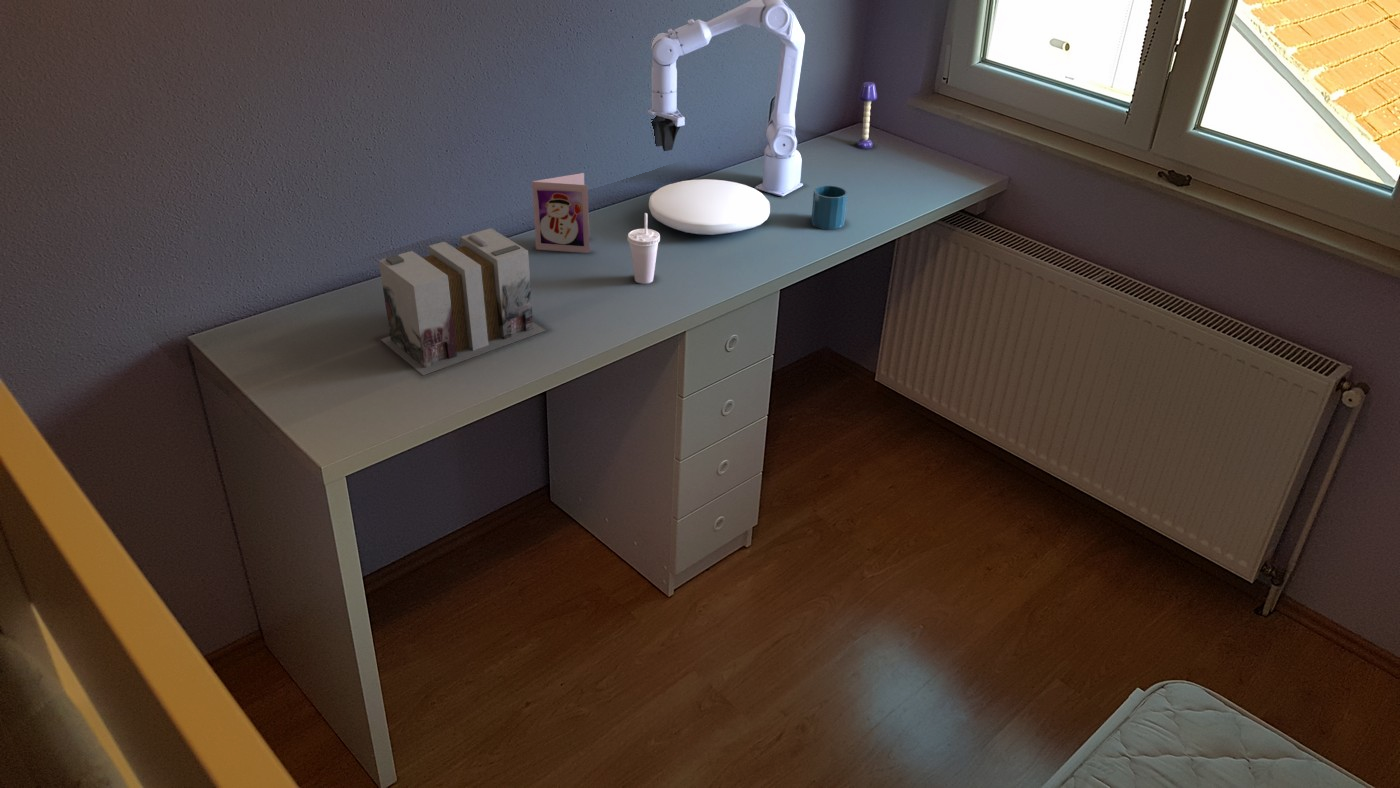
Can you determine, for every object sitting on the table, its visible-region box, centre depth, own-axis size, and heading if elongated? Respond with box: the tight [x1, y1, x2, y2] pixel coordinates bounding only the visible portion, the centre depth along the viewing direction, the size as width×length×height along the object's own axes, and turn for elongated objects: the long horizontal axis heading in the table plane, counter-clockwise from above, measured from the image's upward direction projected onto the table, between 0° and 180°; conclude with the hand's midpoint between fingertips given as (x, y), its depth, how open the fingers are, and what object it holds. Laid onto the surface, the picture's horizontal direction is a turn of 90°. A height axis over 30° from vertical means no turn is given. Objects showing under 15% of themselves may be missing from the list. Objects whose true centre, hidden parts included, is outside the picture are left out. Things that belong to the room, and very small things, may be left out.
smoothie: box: [627, 212, 661, 285], centre depth 210 cm, size 6×6×14 cm
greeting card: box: [531, 172, 591, 254], centre depth 223 cm, size 11×7×15 cm, turn 83°
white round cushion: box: [648, 178, 771, 236], centre depth 239 cm, size 28×6×27 cm
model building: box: [378, 227, 547, 376], centre depth 189 cm, size 16×25×16 cm, turn 131°
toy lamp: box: [855, 81, 878, 150], centre depth 279 cm, size 5×5×17 cm
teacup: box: [810, 184, 848, 231], centre depth 238 cm, size 7×7×8 cm
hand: (663, 147), depth 249 cm, fingers open, 3 cm apart
